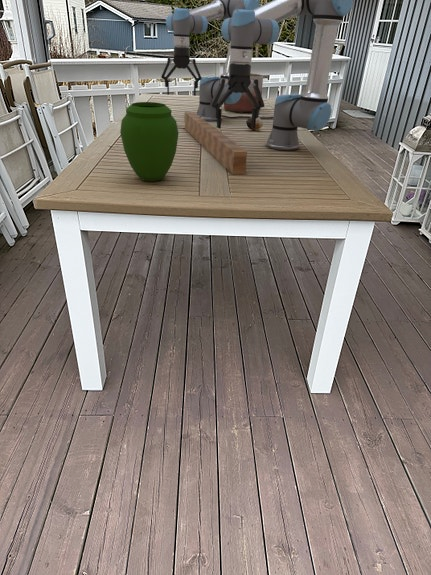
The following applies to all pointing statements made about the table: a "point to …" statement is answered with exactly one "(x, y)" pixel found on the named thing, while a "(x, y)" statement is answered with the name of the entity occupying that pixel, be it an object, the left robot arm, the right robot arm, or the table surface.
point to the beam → (217, 143)
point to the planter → (246, 98)
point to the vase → (149, 139)
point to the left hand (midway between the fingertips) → (181, 94)
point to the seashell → (258, 123)
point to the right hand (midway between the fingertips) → (236, 127)
